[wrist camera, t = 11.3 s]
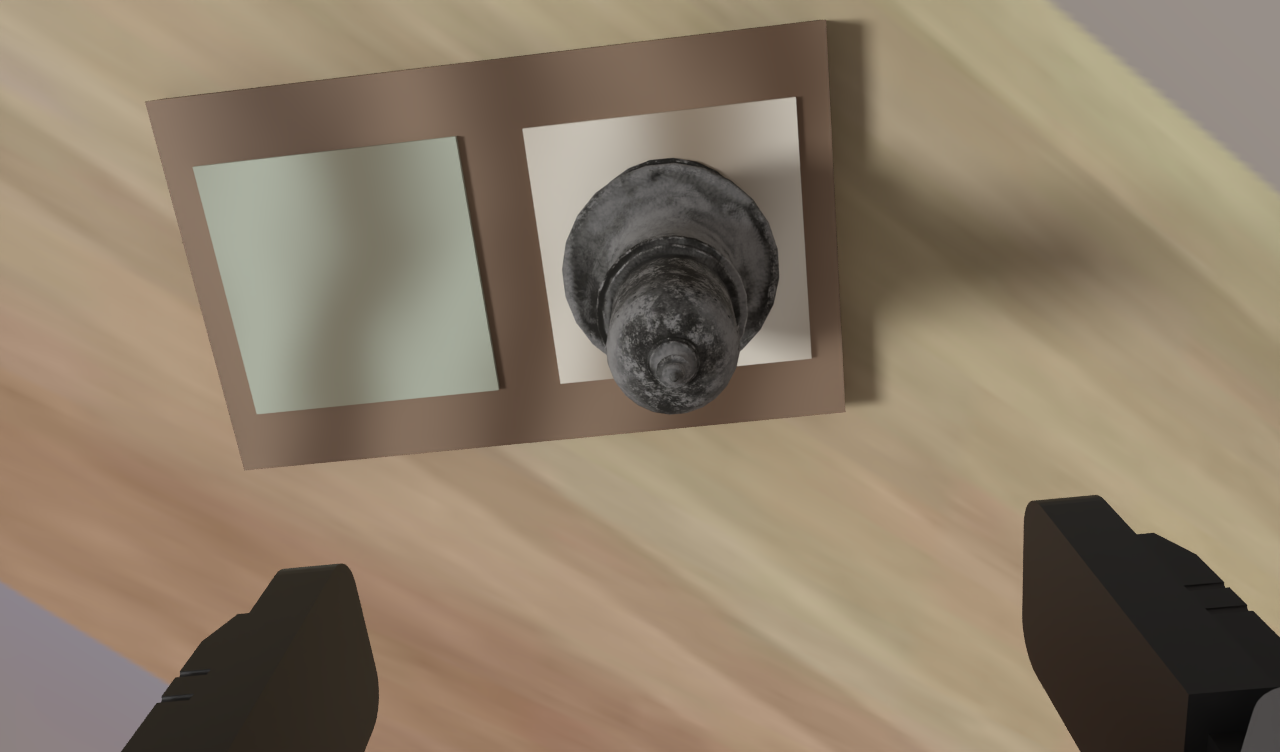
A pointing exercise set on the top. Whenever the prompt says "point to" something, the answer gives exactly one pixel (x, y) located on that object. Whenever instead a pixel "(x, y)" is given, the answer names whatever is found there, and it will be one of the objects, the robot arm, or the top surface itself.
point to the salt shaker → (671, 280)
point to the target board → (486, 239)
